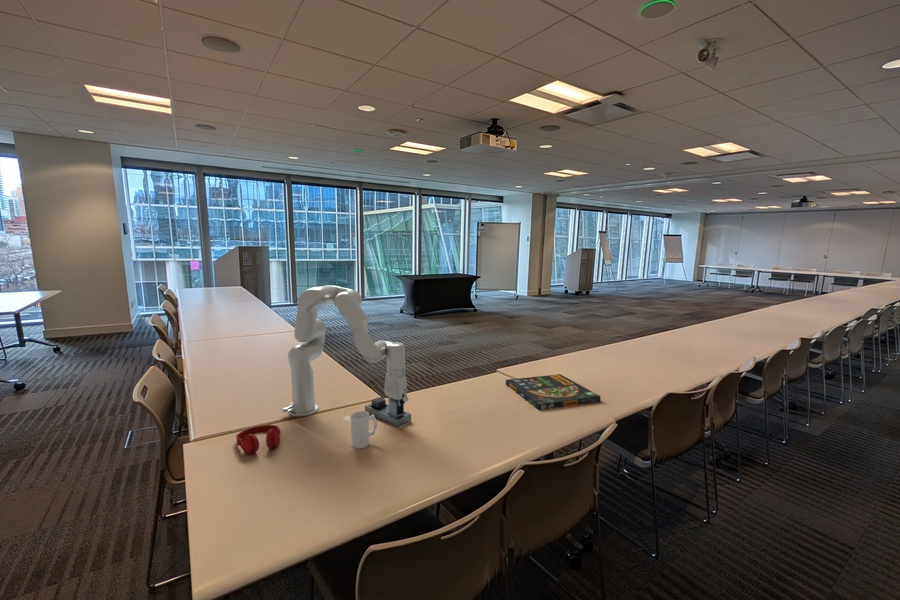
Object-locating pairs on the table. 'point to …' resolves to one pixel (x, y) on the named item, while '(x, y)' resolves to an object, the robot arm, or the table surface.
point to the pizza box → (552, 391)
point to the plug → (394, 408)
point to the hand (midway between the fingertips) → (396, 411)
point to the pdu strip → (386, 413)
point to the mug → (361, 428)
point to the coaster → (347, 419)
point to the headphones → (251, 441)
